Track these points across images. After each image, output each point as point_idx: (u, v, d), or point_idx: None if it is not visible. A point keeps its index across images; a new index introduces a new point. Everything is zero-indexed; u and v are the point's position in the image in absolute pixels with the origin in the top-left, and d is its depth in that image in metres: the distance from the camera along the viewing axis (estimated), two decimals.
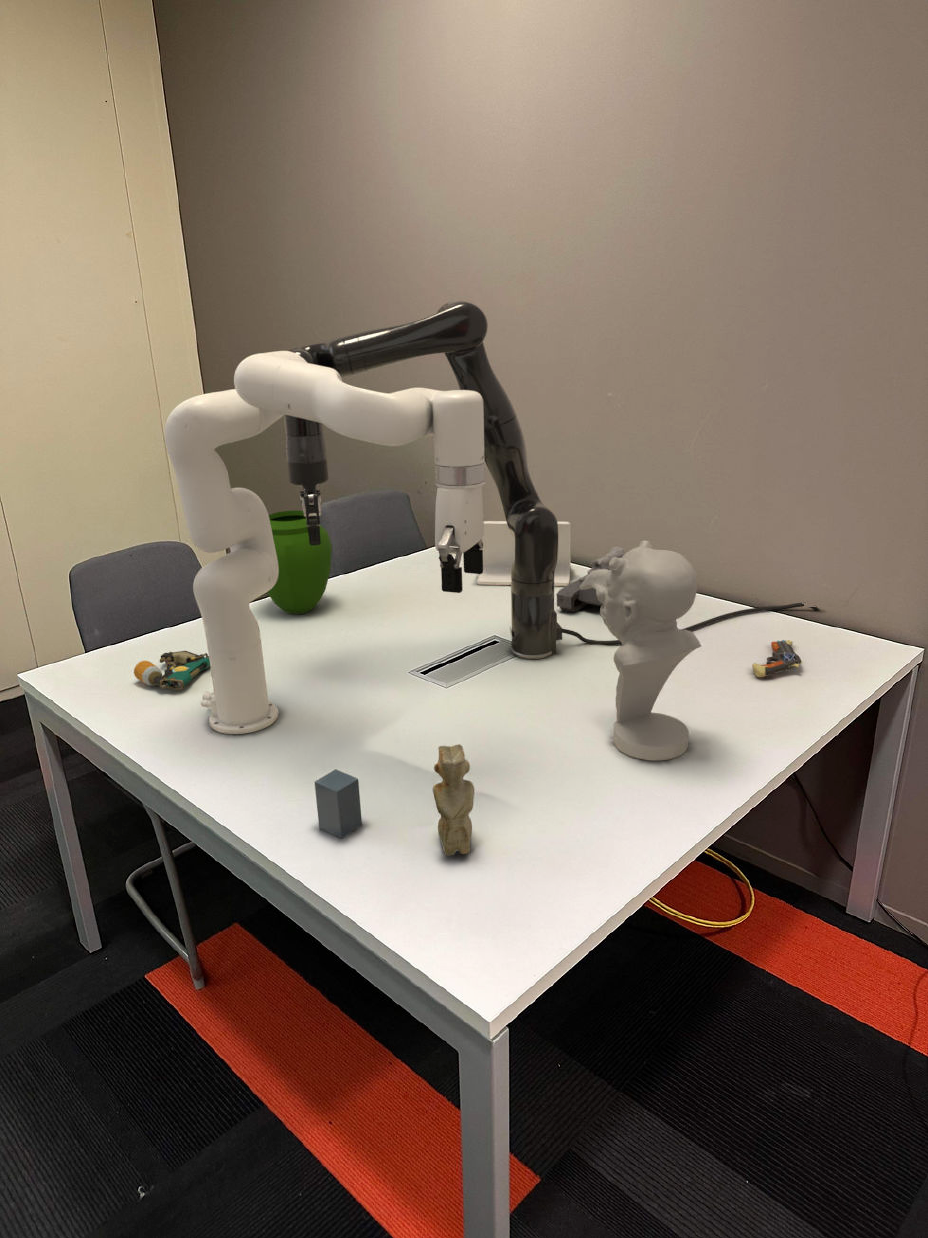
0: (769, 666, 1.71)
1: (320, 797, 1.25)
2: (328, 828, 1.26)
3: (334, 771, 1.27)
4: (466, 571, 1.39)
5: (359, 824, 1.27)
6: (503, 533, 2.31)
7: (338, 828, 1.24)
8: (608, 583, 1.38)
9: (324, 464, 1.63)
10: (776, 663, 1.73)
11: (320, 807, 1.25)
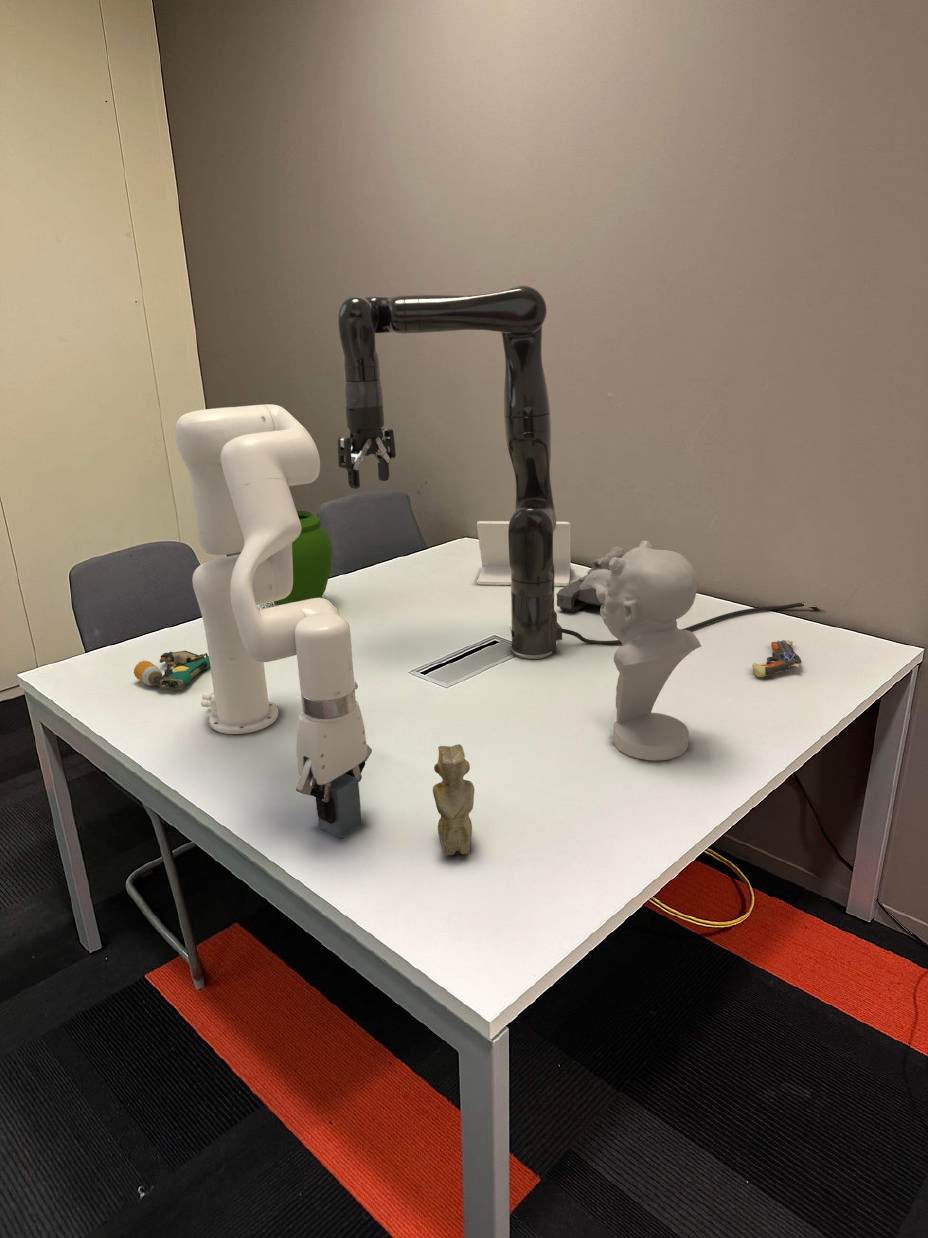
0: (769, 666, 1.71)
1: None
2: (328, 828, 1.26)
3: None
4: None
5: (359, 824, 1.27)
6: (503, 533, 2.31)
7: (338, 828, 1.24)
8: (608, 583, 1.38)
9: None
10: (776, 663, 1.73)
11: None
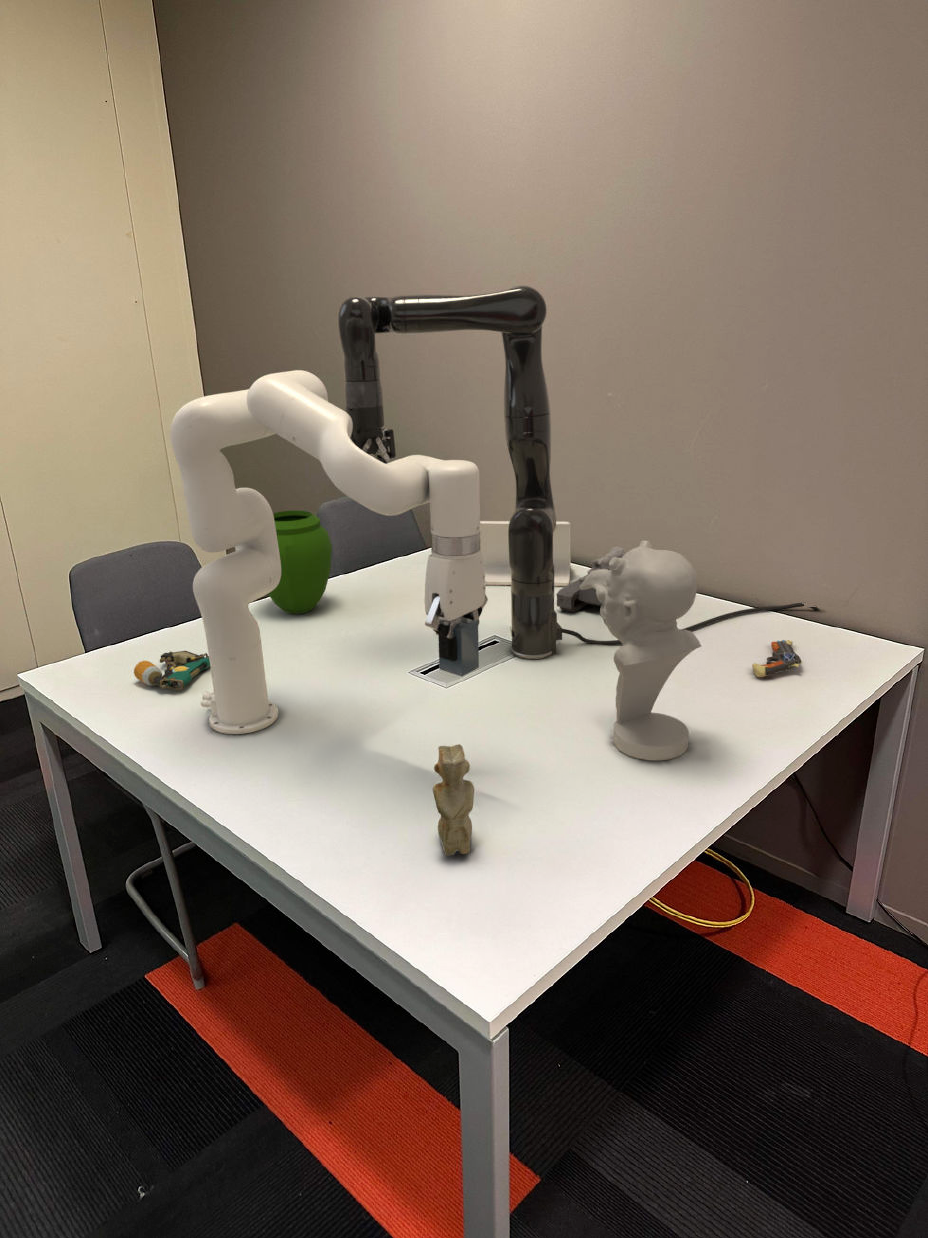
0: (769, 666, 1.71)
1: None
2: (449, 668, 1.35)
3: None
4: None
5: (476, 666, 1.37)
6: (503, 533, 2.31)
7: (459, 666, 1.34)
8: (608, 583, 1.38)
9: None
10: (776, 663, 1.73)
11: None
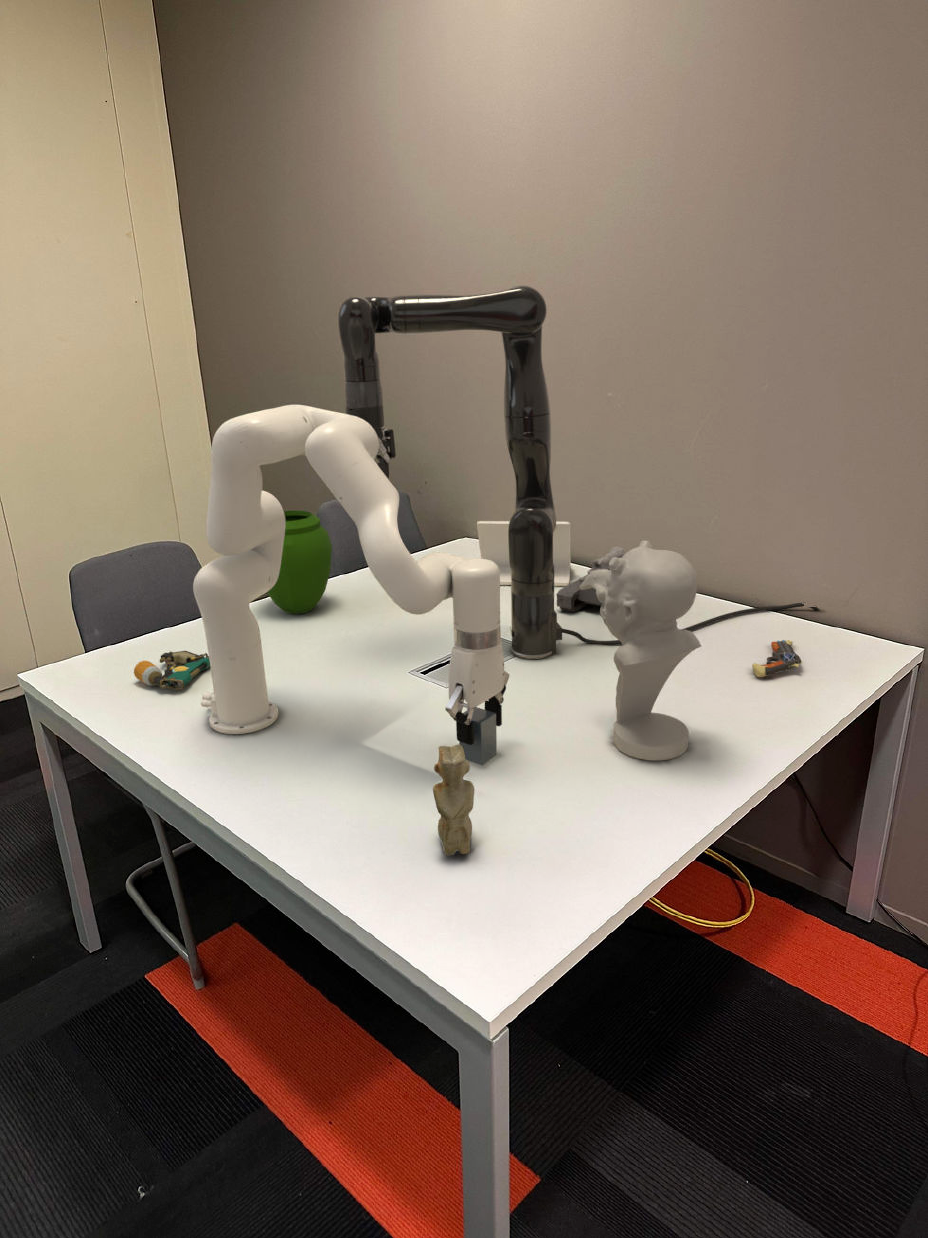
0: (769, 666, 1.71)
1: None
2: (469, 757, 1.44)
3: None
4: None
5: (495, 754, 1.45)
6: (503, 533, 2.31)
7: (479, 756, 1.43)
8: (608, 583, 1.38)
9: None
10: (776, 663, 1.73)
11: None
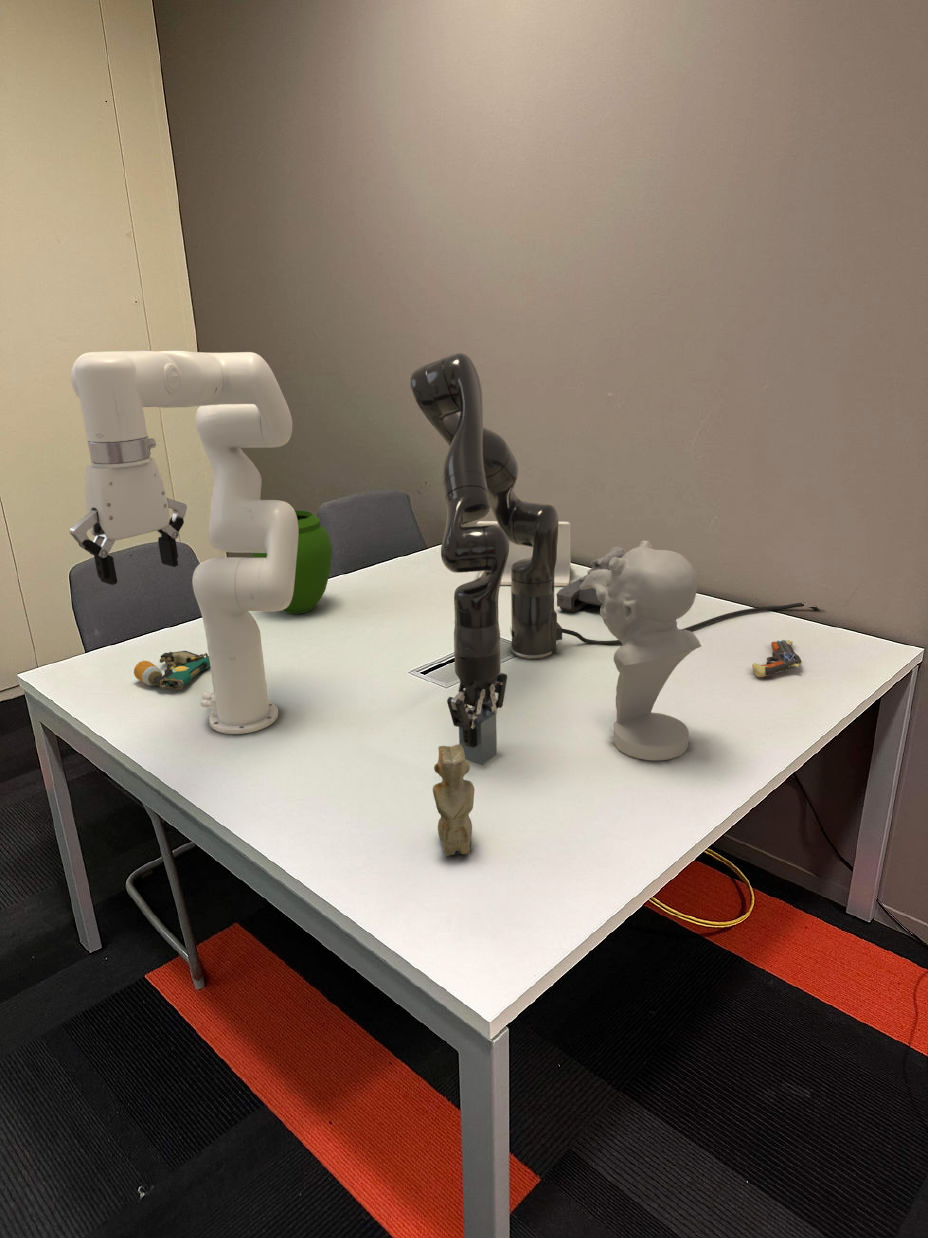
0: (769, 666, 1.71)
1: None
2: (469, 757, 1.44)
3: (473, 708, 1.45)
4: (163, 562, 1.24)
5: (495, 754, 1.45)
6: None
7: (479, 756, 1.43)
8: (608, 583, 1.38)
9: None
10: (776, 663, 1.73)
11: (462, 738, 1.44)
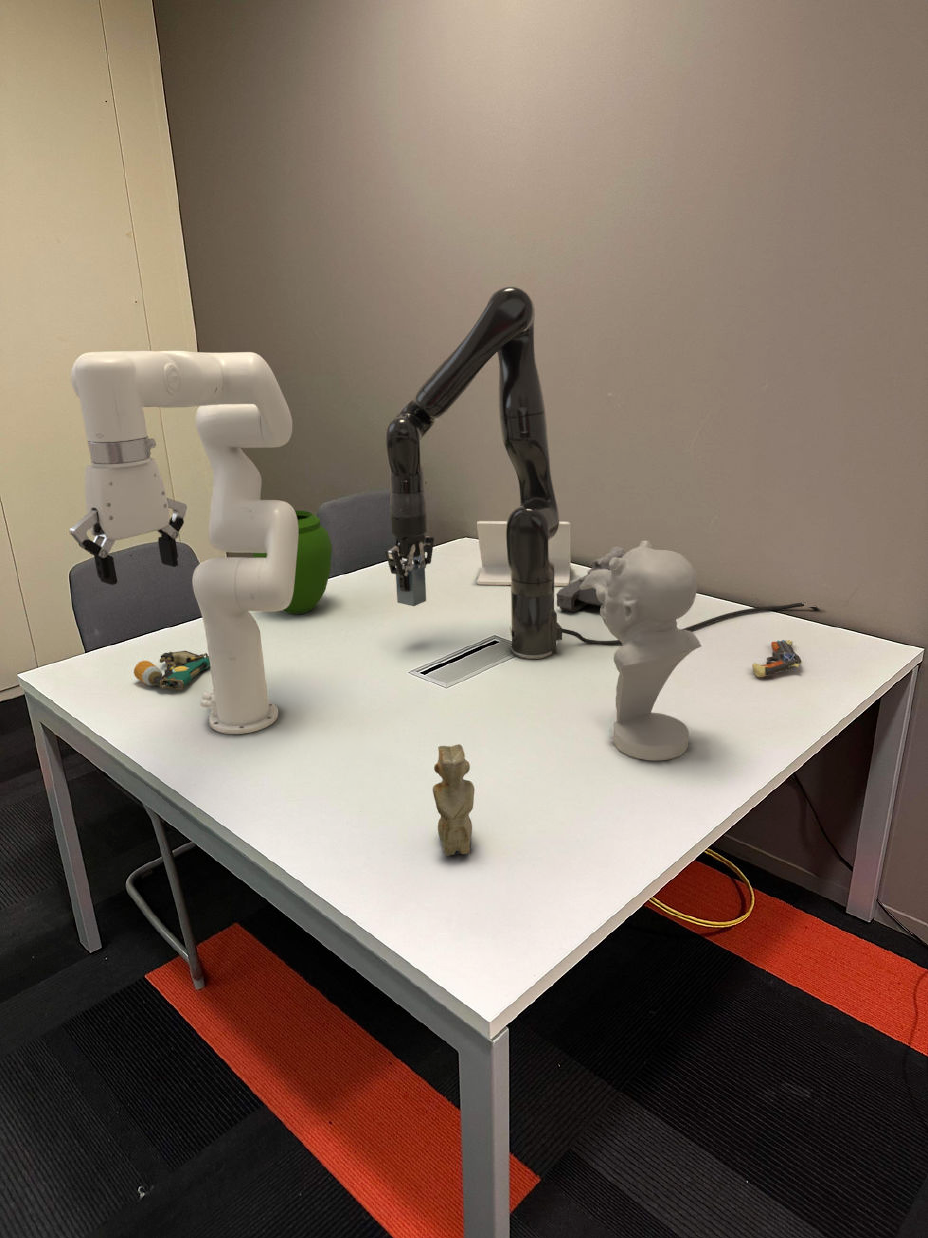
0: (769, 666, 1.71)
1: None
2: (404, 601, 1.86)
3: None
4: (163, 562, 1.24)
5: (424, 599, 1.87)
6: (503, 533, 2.31)
7: (411, 598, 1.84)
8: (608, 583, 1.38)
9: None
10: (776, 663, 1.73)
11: None
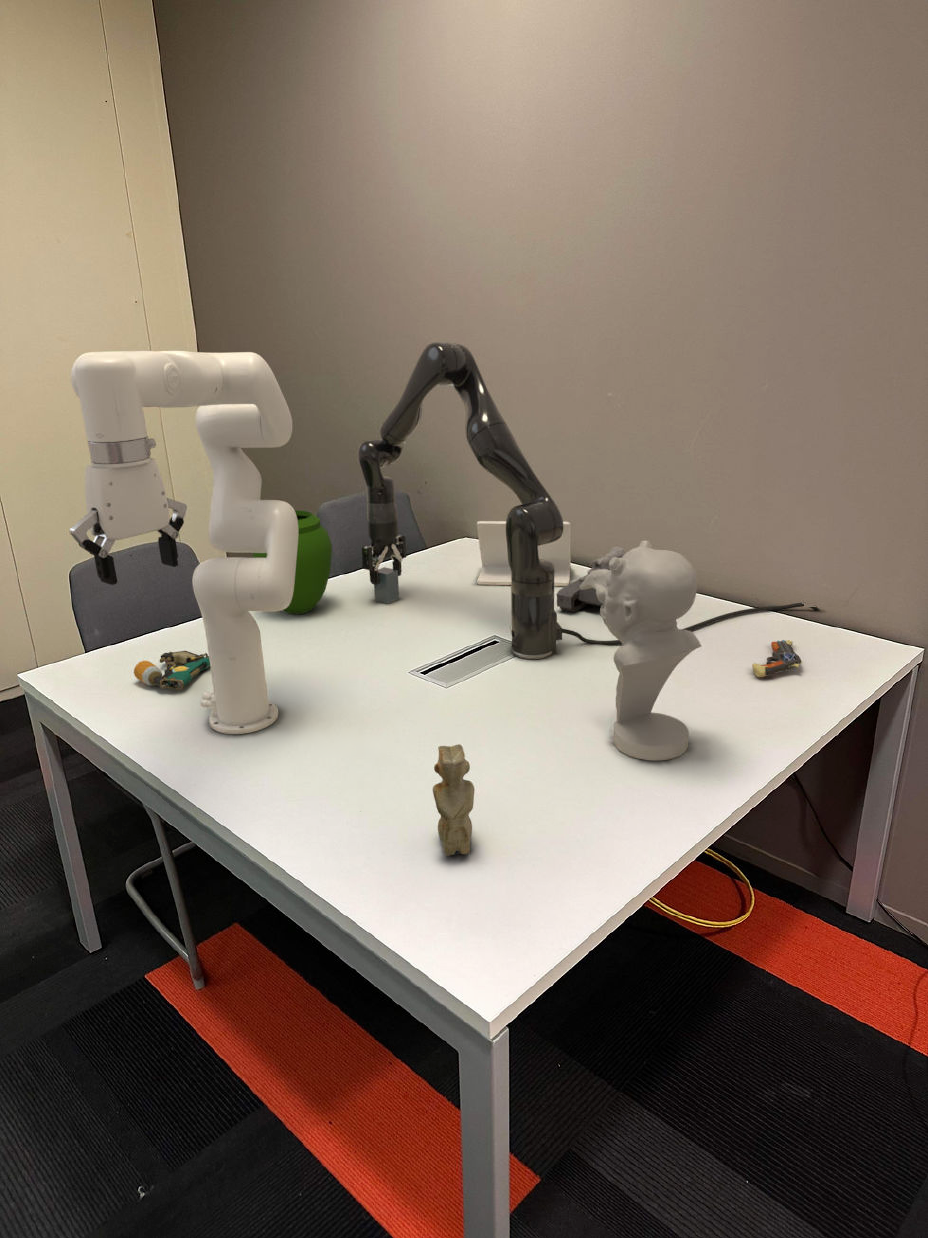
0: (769, 666, 1.71)
1: None
2: (380, 599, 2.21)
3: (383, 568, 2.22)
4: (163, 562, 1.24)
5: (398, 598, 2.23)
6: (503, 533, 2.31)
7: (386, 597, 2.20)
8: (608, 583, 1.38)
9: None
10: (776, 663, 1.73)
11: (376, 586, 2.21)
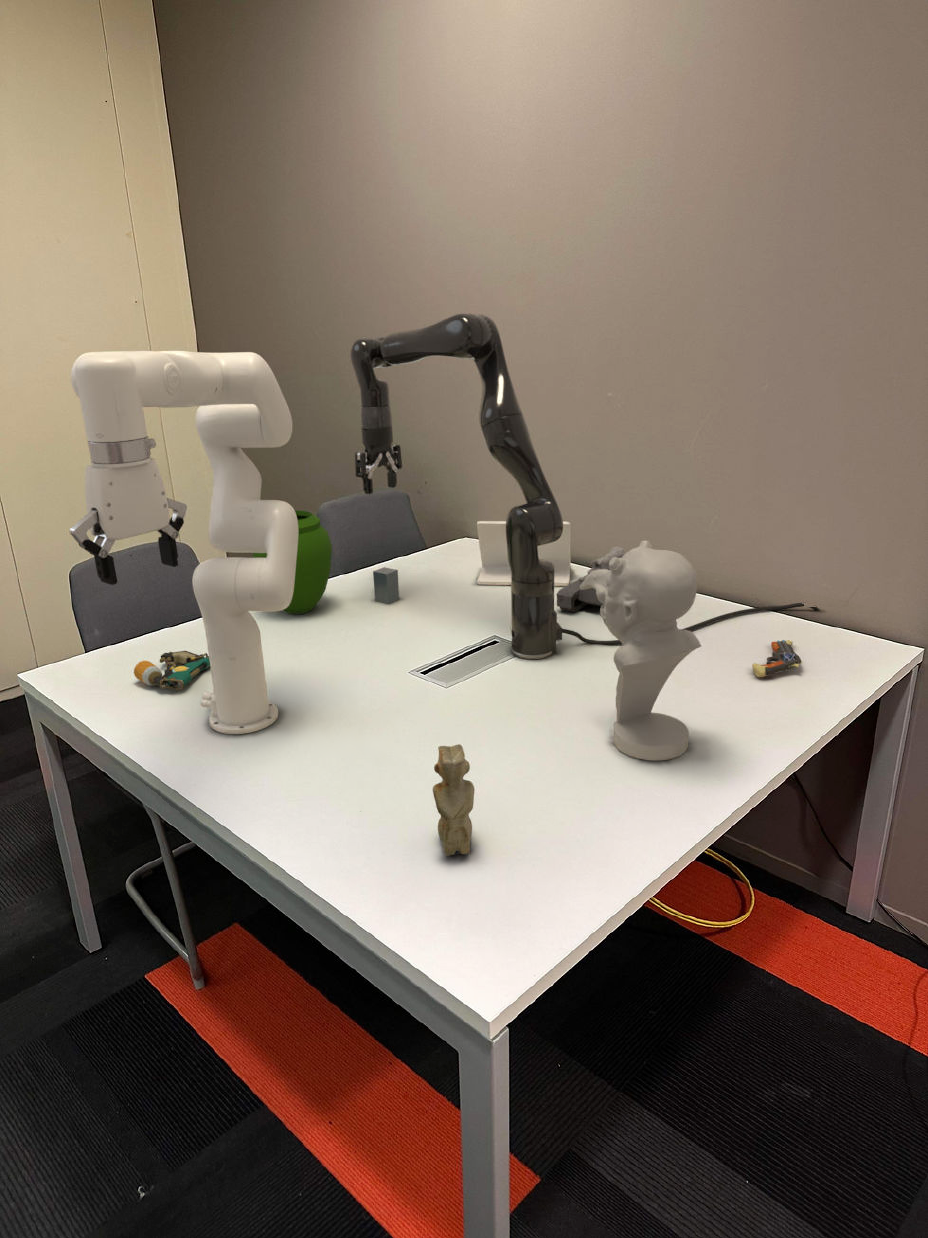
0: (769, 666, 1.71)
1: (376, 580, 2.20)
2: (380, 599, 2.21)
3: (383, 568, 2.22)
4: (163, 562, 1.24)
5: (398, 598, 2.23)
6: (503, 533, 2.31)
7: (386, 597, 2.20)
8: (608, 583, 1.38)
9: None
10: (776, 663, 1.73)
11: (376, 586, 2.21)
